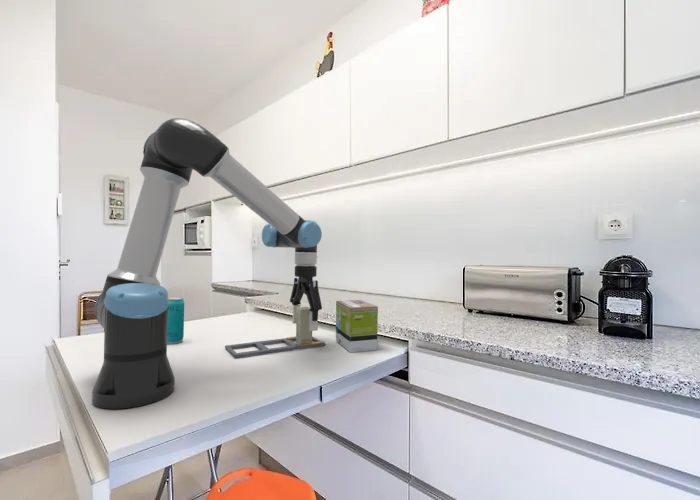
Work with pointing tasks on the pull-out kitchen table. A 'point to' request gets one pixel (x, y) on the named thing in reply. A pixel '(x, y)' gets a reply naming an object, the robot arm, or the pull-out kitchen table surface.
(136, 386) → the robot arm
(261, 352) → the socket rail
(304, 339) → the skincare box
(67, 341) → the pull-out kitchen table surface
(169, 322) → the beverage can
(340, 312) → the tea box
